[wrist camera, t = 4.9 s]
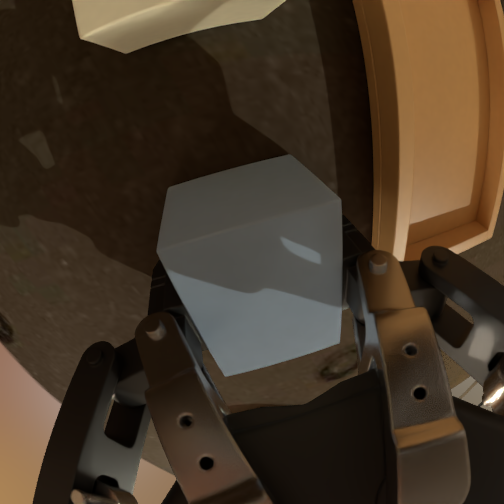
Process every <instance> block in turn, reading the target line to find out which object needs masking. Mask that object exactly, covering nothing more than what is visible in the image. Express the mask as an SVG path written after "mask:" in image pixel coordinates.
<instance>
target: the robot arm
mask: <svg viewBox="0 0 504 504" xmlns="http://www.w3.org/2000/svg"><path fill="white" fill-rule="evenodd" d="M342 237H343V279H342V310H345V309H348V308H350V309H351V311H352V312H353V319H352V321H353V329H354V336H355V343H356V351H357V360H358V376H355V377H353V378H350V379H348V380H345V381H342V382H340V383H339V384H337V385H336V386H334V387H332V388H331V389H329V390H328V391H326V392H325V393H323V394H322V395H320V396H318V397H317V398H315V399H314V400H312V401H310V402H309V403H307V404H304V405H293V406H274V407H260V408H256V409H252V410H247V411H243V412H239V413H234V414H232V412H231V411H230V409H229V408H228V406H227V405H226V403H225V401H224V400H223V398H222V396H221V394H220V392H219V391H218V389H217V387H216V385H215V383H214V382H213V380H212V378H211V376H210V374H209V372H208V370H207V369H206V367H205V365H204V364H203V358H202V351H205V350H209V349H208V348H207V346H206V344H205V342H204V341H203V339H202V337H201V336H200V334H199V332H198V330H197V328H196V327H195V325H194V323H193V321H192V320H191V318H190V316H189V314H188V312H187V310H186V309H185V307H184V305H183V303H182V301H181V299H180V297H179V295H178V294H177V292H176V290H175V288H174V286H173V284H172V282H171V280H170V278H169V276H168V274H167V272H166V270H165V268H164V266H163V264H162V262H161V260H159V261H158V263H157V264H156V266H155V268H154V269H153V275H152V282H151V290H150V299H149V308H148V316H147V317H145V318H144V319H143V320H142V321H141V322H140V323H139V325H138V326H137V328H136V331H135V338H134V339H132V340H130V341H129V342H127V343H125V344H123V345H121V346H119V347H117V348H114V347H113V346H112V345H111V344H110V343H108V342H105V341H101V342H97V343H94V344H93V345H91V346H90V347H89V348H88V349H87V350H86V351H85V352H84V354H83V355H82V357H81V360H80V362H79V364H78V366H77V369H76V371H75V373H74V376H73V378H72V380H71V383H70V385H69V388H68V390H67V393H66V395H65V398H64V400H63V403H62V405H61V408H60V411H59V414H58V416H57V419H56V422H55V425H54V428H53V431H52V434H51V436H50V440H49V443H48V446H47V449H46V452H45V456H44V459H43V463H42V466H41V470H40V474H39V478H38V482H37V487H36V490H35V495H34V499H33V504H138V502H137V500H136V499H135V497H134V496H133V495H132V494H133V489H134V485H135V480H136V476H137V471H138V467H139V462H140V458H141V454H142V450H143V446H144V442H145V438H146V434H147V430H148V426H149V422H150V418H152V421H153V423H154V426H155V429H156V431H157V434H158V437H159V439H160V442H161V444H162V447H163V449H164V452H165V454H166V457H167V459H168V461H169V464H170V466H171V468H172V470H173V473H174V475H175V477H176V479H177V480H176V481H175V483H174V485H173V486H172V488H171V489H170V491H169V492H168V494H167V496H166V497H165V499H164V500H163V502H162V503H161V504H504V286H503V285H501V284H500V283H499V282H497V281H496V280H494V279H493V278H492V277H490V276H489V275H487V274H486V273H484V272H483V271H482V270H480V269H479V268H477V267H476V266H474V265H473V264H471V263H470V262H468V261H467V260H465V259H464V258H462V257H460V256H459V255H457V254H456V253H454V252H453V251H451V250H449V249H448V248H445V247H442V246H429V247H427V248H425V249H424V250H423V251H422V253H421V258H420V260H412V261H398V259H397V258H396V257H395V256H394V255H393V254H391V253H389V252H387V251H383V250H375V248H374V247H373V246H372V245H371V244H370V243H369V242H368V241H367V240H366V238H365V237H364V236H363V235H362V234H361V233H360V232H359V231H358V230H357V229H356V227H355V226H354V225H353V224H351V222H350V221H349V220H348V219H347V218H346V217H345V216H344V215H342ZM448 297H449V298H450V299H451V300H452V301H454V302H455V303H456V304H458V305H459V306H460V307H462V308H463V309H464V310H466V311H467V312H468V313H469V314H470V315H471V316H472V318H473V321H474V324H471V323H470V322H469V321H467V320H466V319H465V318H464V317H462V316H461V315H460V314H458V313H457V312H456V311H455V310H453V309H452V308H451V307H449V306H448V305H447V304H446V301H447V298H448ZM440 349H442V350H443V351H444V352H445V353H446V354H447V355H448V356H449V357H451V358H452V359H453V360H454V361H455V362H456V363H457V364H458V365H460V366H461V367H462V368H463V369H464V370H465V371H466V372H467V373H468V374H469V375H471V376H472V377H473V378H474V379H475V380H476V381H477V382H478V383H479V384H480V385H481V386H482V387H483V392H484V394H483V396H482V402H483V404H484V405H486V406H491V408H492V411H493V412H491V411H488V410H486V409H483V408H481V407H478V406H476V405H473V404H471V403H468V402H466V401H464V400H461V399H459V398H456V397H454V396H452V393H451V389H450V385H449V381H448V376H447V373H446V369H445V365H444V361H443V358H442V354H441V351H440ZM112 399H114V403H113V406H112V409H111V412H110V416H109V419H108V422H107V425H106V428H105V432H104V429H103V425H104V421H105V418H106V415H107V412H108V409H109V406H110V403H111V400H112Z"/></svg>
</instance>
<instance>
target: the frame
mask: <svg viewBox="0 0 504 504" xmlns="http://www.w3.org/2000/svg"><path fill="white" fill-rule="evenodd" d="M352 1H353V5H354V9H355V14H356V18H357V23H358V27H359V32H360V38H361V43H362V49H363V55H364V61H365V68H366V75H367V83H368V92H369V101H370V112H371V125H372V141H373V173H374V197H373V230H372V246H373V247H374V248H375V250H383V251H387V252H389V253H391V254H393V255H394V256H395V257H396V258H397V259H398V261H412V260H420V258H421V253H422V251H423V250H424V249H425V248H427V247H429V246H442V247H445V248H448V249H449V250H451V251H453V252H454V253H456V254H459V253H461V252H463V251H465V250H467V249H469V248H471V247H474V246H476V245H478V244H480V243H482V242H484V241H485V240H488V239H490V238H491V237H492V234H493V231H494V227H495V224H496V220H497V216H498V212H499V208H500V204H501V199H502V194H503V189H504V15H503V11H502V7H501V3H500V0H352Z"/></svg>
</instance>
